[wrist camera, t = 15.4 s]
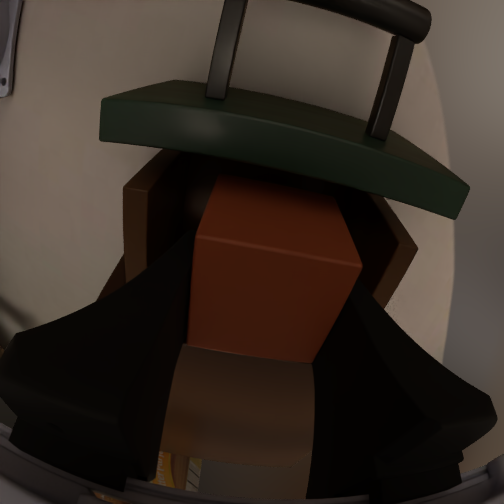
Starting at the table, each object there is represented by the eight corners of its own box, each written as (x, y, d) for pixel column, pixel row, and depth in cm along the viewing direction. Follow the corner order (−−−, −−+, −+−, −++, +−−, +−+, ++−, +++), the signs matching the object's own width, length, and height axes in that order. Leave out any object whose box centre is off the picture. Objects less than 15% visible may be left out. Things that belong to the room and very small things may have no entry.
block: (219, 172, 10) (194, 234, 7) (334, 195, 10) (364, 266, 7) (205, 266, 12) (185, 346, 9) (303, 283, 13) (312, 364, 9)
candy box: (136, 403, 31) (107, 522, 18) (120, 383, 28) (83, 514, 16) (210, 409, 30) (193, 543, 17) (200, 389, 27) (177, 541, 15)
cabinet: (153, 207, 17) (85, 318, 10) (352, 246, 18) (394, 369, 11) (154, 352, 24) (128, 443, 17) (288, 375, 25) (290, 467, 18)
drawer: (193, -19, 9) (135, -72, 4) (419, 40, 10) (516, 43, 4) (156, 289, 19) (123, 378, 13) (316, 318, 20) (327, 410, 14)
